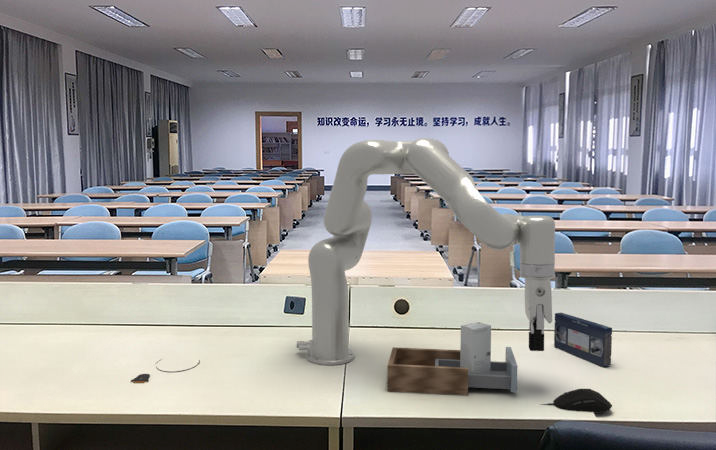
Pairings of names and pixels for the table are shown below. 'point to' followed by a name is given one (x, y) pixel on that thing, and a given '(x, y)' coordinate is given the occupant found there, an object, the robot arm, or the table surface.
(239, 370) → the table surface
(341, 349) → the robot arm
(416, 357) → the housing
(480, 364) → the skincare box
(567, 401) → the gaming mouse
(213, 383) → the table surface
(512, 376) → the tray
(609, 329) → the vhs cassette tape
